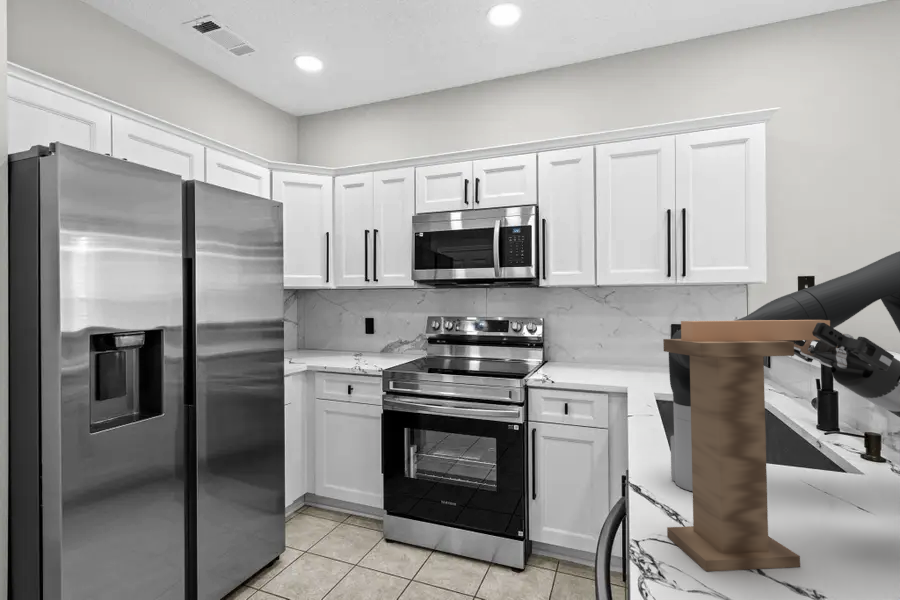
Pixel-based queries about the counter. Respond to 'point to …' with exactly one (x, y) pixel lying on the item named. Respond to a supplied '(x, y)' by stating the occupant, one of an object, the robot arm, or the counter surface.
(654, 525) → the counter surface
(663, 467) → the counter surface
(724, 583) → the counter surface
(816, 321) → the bar
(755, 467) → the wooden pedestal column
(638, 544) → the counter surface
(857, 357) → the robot arm
